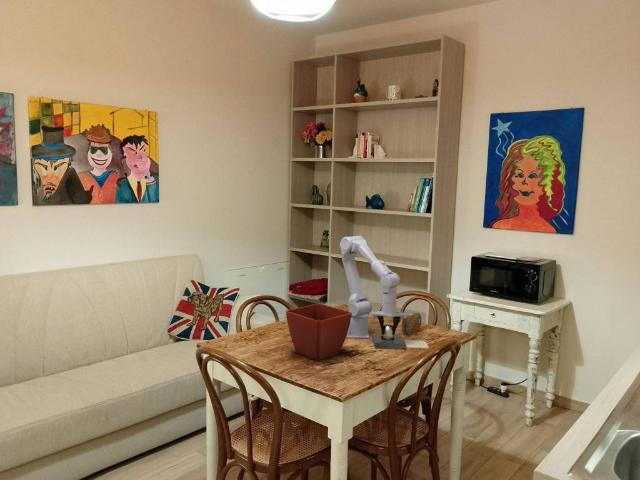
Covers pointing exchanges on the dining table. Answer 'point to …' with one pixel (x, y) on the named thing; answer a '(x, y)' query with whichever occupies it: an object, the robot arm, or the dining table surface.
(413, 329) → the tin
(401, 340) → the housing
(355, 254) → the robot arm
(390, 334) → the silver metal cylinder
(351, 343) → the dining table surface
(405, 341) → the mat
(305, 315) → the plant pot
